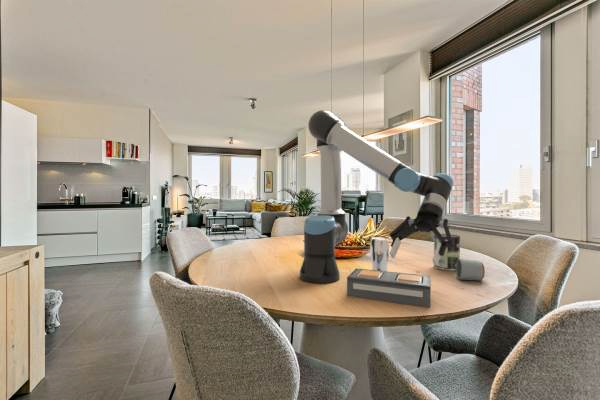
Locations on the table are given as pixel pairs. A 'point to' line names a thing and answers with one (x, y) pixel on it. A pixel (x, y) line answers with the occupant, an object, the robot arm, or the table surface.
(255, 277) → the table surface
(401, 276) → the right switch
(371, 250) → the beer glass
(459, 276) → the grey cylinder
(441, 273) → the table surface
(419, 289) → the switch console
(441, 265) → the coffee can
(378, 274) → the left switch
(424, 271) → the table surface
